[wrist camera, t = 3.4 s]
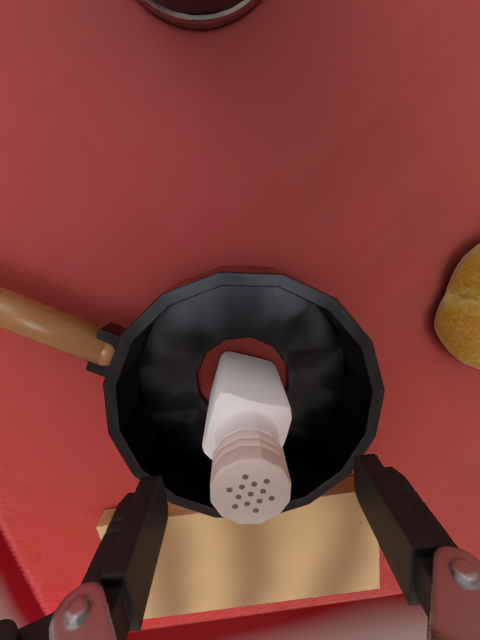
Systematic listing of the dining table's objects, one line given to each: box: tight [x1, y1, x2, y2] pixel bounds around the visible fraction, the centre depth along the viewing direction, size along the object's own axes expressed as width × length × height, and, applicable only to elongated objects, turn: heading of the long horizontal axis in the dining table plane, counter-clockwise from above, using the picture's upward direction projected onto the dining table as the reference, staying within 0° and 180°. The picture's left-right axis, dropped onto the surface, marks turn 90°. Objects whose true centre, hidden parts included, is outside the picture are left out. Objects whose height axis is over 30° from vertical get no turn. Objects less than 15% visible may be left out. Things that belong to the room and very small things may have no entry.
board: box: [96, 476, 380, 619], centre depth 23 cm, size 22×11×2 cm, turn 98°
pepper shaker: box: [202, 351, 292, 524], centre depth 15 cm, size 4×4×10 cm
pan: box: [0, 266, 385, 518], centre depth 17 cm, size 27×16×4 cm, turn 65°
